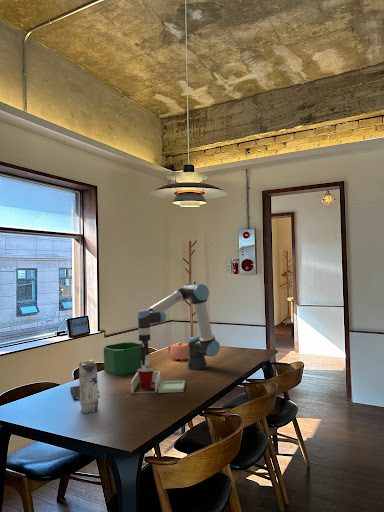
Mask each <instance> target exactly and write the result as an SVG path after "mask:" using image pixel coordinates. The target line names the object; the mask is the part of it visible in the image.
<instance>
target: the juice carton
mask: <svg viewBox="0 0 384 512" xmlns="http://www.w3.org/2000/svg"><path fill="white" fill-rule="evenodd" d="M78 365H79V366H78V375H79V376H78V377H79V378H78V380H79V381H78V382H79V383H78V386H80V399H79V403H80V407H81V410H82V413H83V414H89V413H93V412H94V413H95V412H97V411H98V410H99V409H98V408H99V393H98V391H99V386H98V385H99V384H98V383H99V381H98V380H99V379H98V367H97V363H96V362H95V359H89V360H88V361H82V362H79V363H78ZM88 412H89V413H88Z"/></svg>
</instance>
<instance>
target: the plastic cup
mask: <svg viewBox="0 0 384 512" xmlns="http://www.w3.org/2000/svg"><path fill="white" fill-rule="evenodd" d="M154 370H155V368H152V367H146V370H142V368H140V369H138V371H137V372H139V377H140V382H141V383H140V386H141V389H142V390H143V389H144V390H148V389H151V388H152V383H153V382H152V376H153V372H155V371H154ZM151 382H152V383H151Z"/></svg>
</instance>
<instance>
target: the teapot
mask: <svg viewBox="0 0 384 512" xmlns="http://www.w3.org/2000/svg"><path fill="white" fill-rule="evenodd" d="M167 353H169V354H170V359H171V360H174V362H177V361H178V360H180V361H181V362H185V360H187V359H189V343H182V342H181V341H179V342H177V343H173V344H172V345H171V344H170V345H169V344H168V345H167Z"/></svg>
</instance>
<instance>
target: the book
mask: <svg viewBox="0 0 384 512" xmlns="http://www.w3.org/2000/svg"><path fill="white" fill-rule="evenodd" d="M70 393H71V396H72V398H73V400H75V399H79V400H80V385H75V386H71V387H70ZM98 394H100V392H99V390H98ZM75 401H76V400H75Z"/></svg>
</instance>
